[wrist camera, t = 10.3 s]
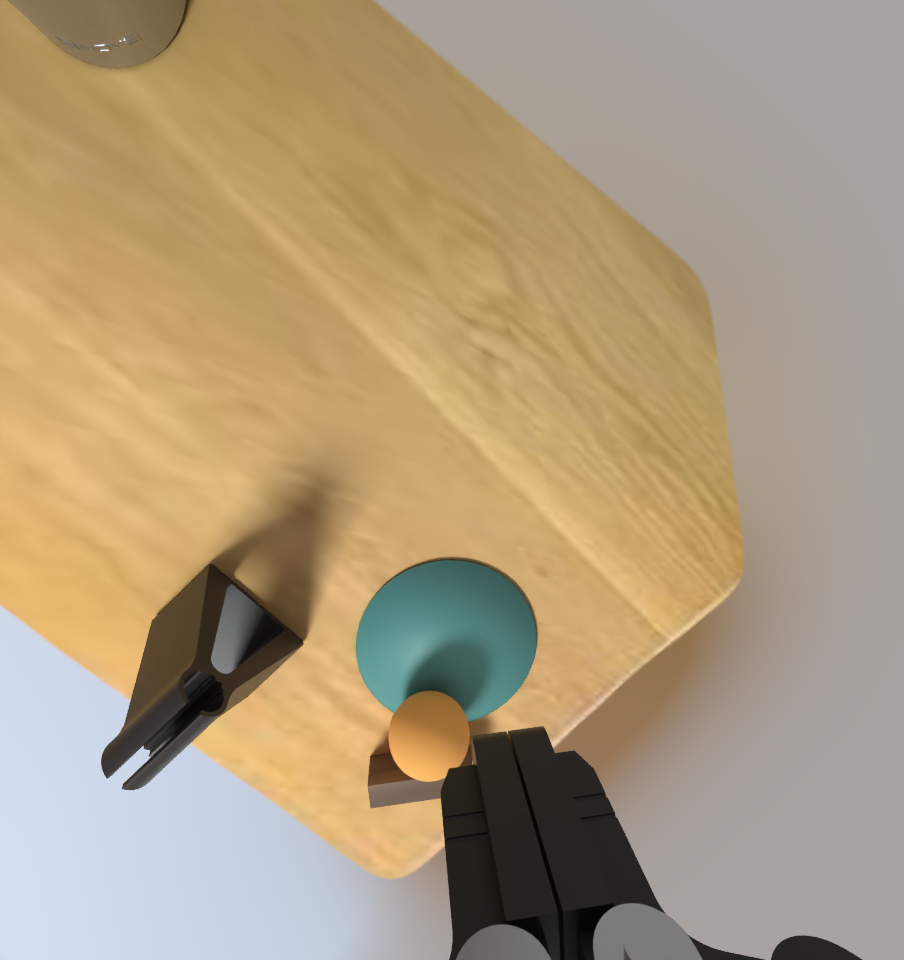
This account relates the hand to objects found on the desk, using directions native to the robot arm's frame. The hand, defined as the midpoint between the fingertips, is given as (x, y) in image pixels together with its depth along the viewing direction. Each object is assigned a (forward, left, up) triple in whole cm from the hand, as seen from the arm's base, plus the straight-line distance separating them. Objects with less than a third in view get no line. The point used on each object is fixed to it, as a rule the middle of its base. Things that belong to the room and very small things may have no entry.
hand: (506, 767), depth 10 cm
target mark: (+13, 0, -27) cm, 30 cm away
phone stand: (+10, -16, -27) cm, 33 cm away
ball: (+18, -2, -24) cm, 30 cm away
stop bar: (+23, -3, -27) cm, 36 cm away
